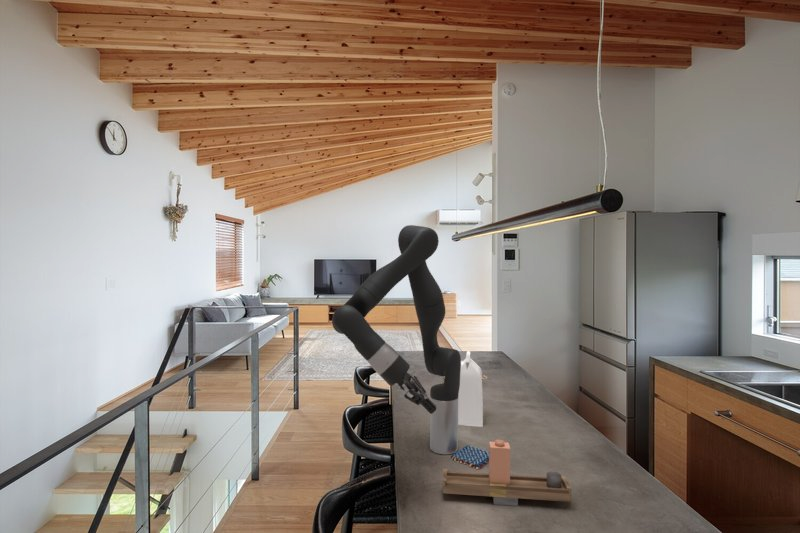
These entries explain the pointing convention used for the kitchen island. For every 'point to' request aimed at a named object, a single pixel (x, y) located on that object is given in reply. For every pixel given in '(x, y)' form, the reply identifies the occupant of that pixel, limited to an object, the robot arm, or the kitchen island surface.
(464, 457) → the woven mat
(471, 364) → the milk
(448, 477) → the beam
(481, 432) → the kitchen island surface
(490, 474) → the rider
